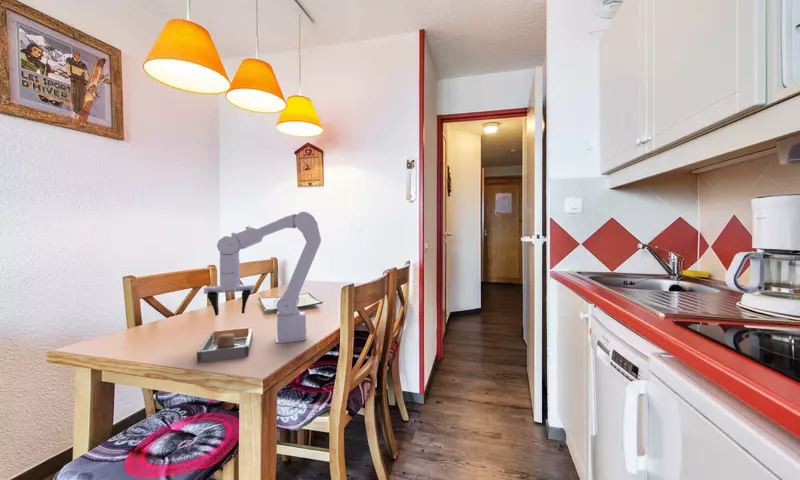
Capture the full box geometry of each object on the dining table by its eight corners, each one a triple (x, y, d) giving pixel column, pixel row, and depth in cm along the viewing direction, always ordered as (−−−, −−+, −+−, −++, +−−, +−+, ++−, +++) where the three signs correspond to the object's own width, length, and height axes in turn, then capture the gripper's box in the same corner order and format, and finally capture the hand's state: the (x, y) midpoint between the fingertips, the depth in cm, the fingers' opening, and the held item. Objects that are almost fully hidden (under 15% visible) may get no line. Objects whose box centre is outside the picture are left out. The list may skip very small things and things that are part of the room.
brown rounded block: (234, 348, 96) (234, 332, 96) (233, 354, 92) (233, 337, 92) (218, 350, 95) (218, 334, 95) (216, 356, 91) (216, 339, 90)
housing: (252, 337, 108) (252, 329, 108) (248, 356, 92) (248, 346, 92) (209, 342, 103) (209, 333, 103) (197, 362, 87) (197, 352, 87)
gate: (248, 335, 107) (248, 327, 107) (248, 336, 106) (248, 328, 106) (213, 339, 103) (213, 330, 103) (213, 340, 103) (213, 331, 102)
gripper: (254, 270, 109) (254, 308, 109) (206, 272, 103) (207, 312, 104) (253, 273, 103) (253, 314, 103) (202, 275, 97) (202, 318, 97)
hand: (230, 313), depth 103 cm, fingers open, 7 cm apart
